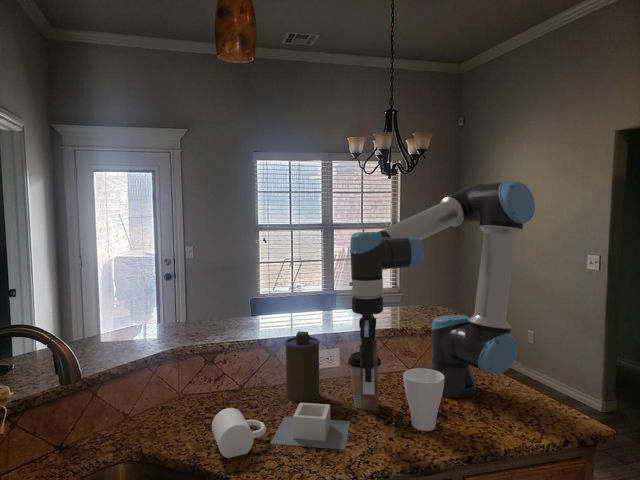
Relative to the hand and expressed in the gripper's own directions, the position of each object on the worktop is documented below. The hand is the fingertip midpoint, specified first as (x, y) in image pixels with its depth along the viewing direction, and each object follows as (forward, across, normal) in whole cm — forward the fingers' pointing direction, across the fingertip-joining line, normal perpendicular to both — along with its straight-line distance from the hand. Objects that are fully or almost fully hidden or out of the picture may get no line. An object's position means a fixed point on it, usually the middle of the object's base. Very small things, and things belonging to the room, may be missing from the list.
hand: (369, 389), depth 107 cm
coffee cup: (+13, -18, -3) cm, 22 cm away
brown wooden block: (+4, 0, 0) cm, 4 cm away
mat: (+12, 0, -15) cm, 19 cm away
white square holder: (+11, 0, -15) cm, 19 cm away
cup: (+13, -8, +13) cm, 20 cm away
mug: (+12, +8, -31) cm, 34 cm away
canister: (+13, -22, -22) cm, 33 cm away
